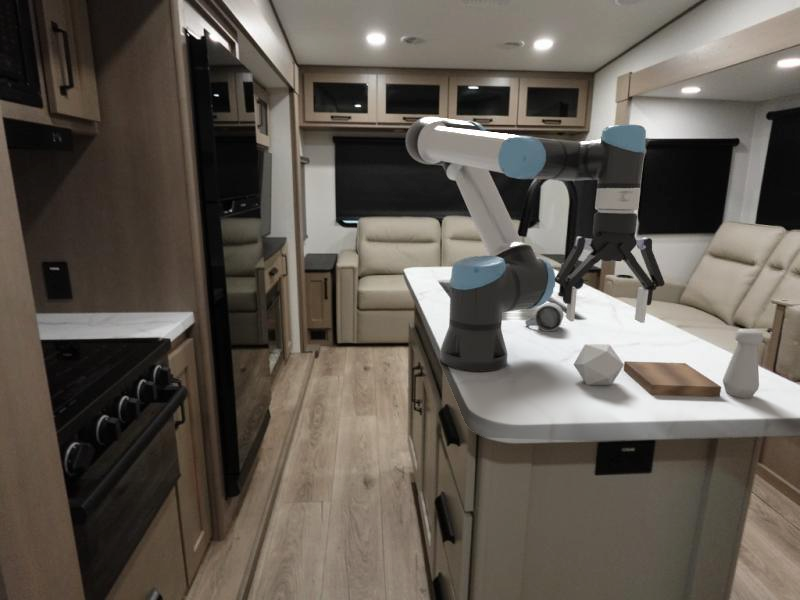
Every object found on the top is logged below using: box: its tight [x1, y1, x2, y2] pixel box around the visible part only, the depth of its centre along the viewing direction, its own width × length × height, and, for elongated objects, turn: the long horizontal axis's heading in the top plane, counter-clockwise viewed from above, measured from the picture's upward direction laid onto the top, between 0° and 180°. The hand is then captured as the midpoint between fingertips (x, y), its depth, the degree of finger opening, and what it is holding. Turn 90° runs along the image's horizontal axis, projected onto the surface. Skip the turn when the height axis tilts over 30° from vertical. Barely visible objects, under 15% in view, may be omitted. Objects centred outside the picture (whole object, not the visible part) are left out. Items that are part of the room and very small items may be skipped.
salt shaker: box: [722, 328, 764, 399], centre depth 93 cm, size 6×6×13 cm
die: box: [573, 343, 624, 386], centre depth 98 cm, size 8×9×10 cm
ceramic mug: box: [524, 302, 564, 332], centre depth 138 cm, size 10×8×7 cm
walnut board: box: [623, 361, 722, 398], centre depth 99 cm, size 13×13×2 cm
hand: (604, 320), depth 96 cm, fingers open, 13 cm apart
